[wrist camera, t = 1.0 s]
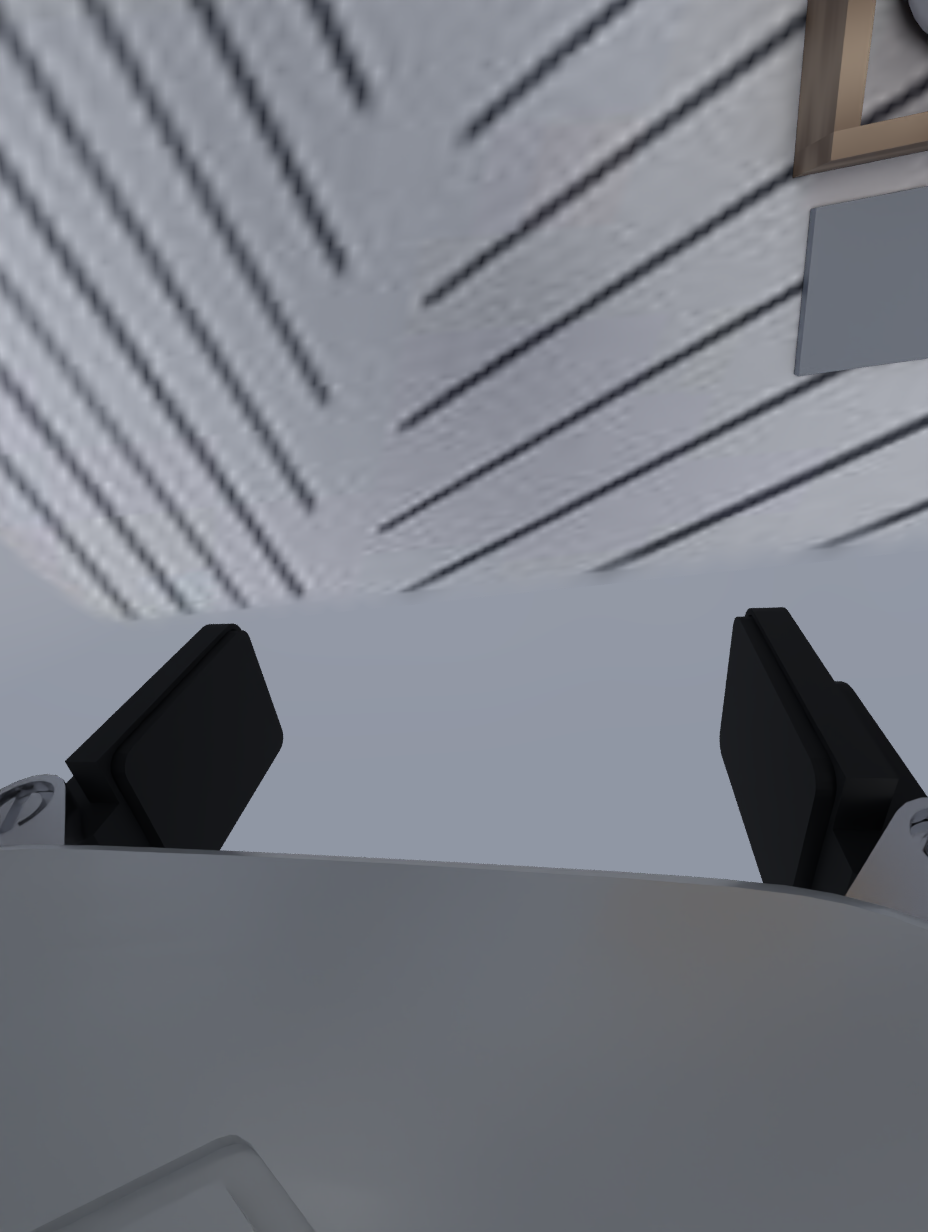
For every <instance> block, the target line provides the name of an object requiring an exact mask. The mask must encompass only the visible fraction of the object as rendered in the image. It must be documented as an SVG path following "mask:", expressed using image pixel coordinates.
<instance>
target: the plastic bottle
mask: <svg viewBox="0 0 928 1232" xmlns="http://www.w3.org/2000/svg"><path fill="white" fill-rule="evenodd" d="M908 2H909V6H910V8H911V11H912V13H913V16H914V18H915V20H916V21H917V23H918V24H919V25H920V27H921V28H922V29H923V31H925V32H926V33H927V34H928V0H908Z"/></svg>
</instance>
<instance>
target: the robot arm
mask: <svg viewBox="0 0 928 1232" xmlns="http://www.w3.org/2000/svg"><path fill="white" fill-rule="evenodd" d="M282 743H283V732H282V728H281V725H280V723H279V720H278V717H277V714H276V711H275V708H274V706H273V703H272V700H271V697H270V694H269V691H268V688H267V686H266V683H265V680H264V677H263V674H262V671H261V669H260V666H259V663H258V660H257V657H256V654H255V651H254V649H253V646H252V643H251V640H250V637H249V635H248V634H247V632H245V631H243V630H241V629H240V627H239V626H238V625H236V624H209V625H206V626H204V627H203V628H202V629H201V630H200V631H199V632H198V633H196V634H195V635H194V636H193V637H192V638H191V639H190V640H189V641H188V642H187V643H186V644H185V645H184V646H183V647H182V648H181V649H180V650H179V651H178V652H177V653H176V654H175V655H174V656H173V657H172V658H171V659H170V660H169V661H168V662H167V663H166V664H165V665H164V666H163V667H162V668H160V669H159V670H158V672H156V673H155V674H154V675H153V676H152V677H151V678H150V679H149V680H148V681H147V682H146V683H145V684H144V685H143V686H142V687H141V688H140V689H139V690H138V691H137V692H136V693H135V694H134V695H133V696H132V697H131V698H130V699H129V700H128V701H127V702H126V703H124V704H123V705H122V706H121V707H120V708H119V709H118V710H117V711H116V712H115V713H114V714H113V715H112V716H111V717H110V718H109V719H108V720H107V721H106V722H105V723H104V724H103V725H102V726H101V727H100V728H99V729H98V730H97V731H96V732H95V733H94V734H93V735H92V736H91V737H90V738H89V739H87V740H86V741H85V742H84V743H83V744H82V745H81V746H80V747H79V748H78V749H77V750H76V751H75V752H74V753H73V754H72V755H71V756H70V757H69V758H68V759H67V760H66V761H65V762H66V764H67V766H68V767H69V769H70V771H71V772H72V774H73V777H72V778H71V779H70V780H69V781H68V782H67V783H65V782H64V780H63V779H62V778H60V777H58V776H57V775H49V774H44V775H36V776H31V777H28V778H25V779H22V780H19V781H17V782H14V783H12V784H10V785H8V786H6V787H4V788H2V789H0V1232H928V797H927V796H926V794H925V793H924V791H923V790H922V788H921V787H920V786H919V784H918V783H917V781H916V780H915V778H914V777H913V776H912V774H911V773H910V771H909V770H908V768H907V767H906V765H905V764H904V762H903V761H902V759H901V758H900V757H899V755H898V754H897V752H896V751H895V749H894V748H893V746H892V745H891V744H890V742H889V741H888V739H887V738H886V737H885V735H884V733H883V732H882V731H881V729H880V728H879V726H878V725H877V723H876V722H875V720H874V719H873V718H872V716H871V715H870V714H869V712H868V710H867V709H866V708H865V706H864V705H863V703H862V702H861V700H860V699H859V697H858V696H857V695H856V693H855V692H854V690H853V689H852V688H851V687H850V686H849V685H848V684H847V683H844V682H842V681H839V682H838V681H837V682H836V681H834V680H833V678H832V677H831V675H830V674H829V672H828V671H827V669H826V668H825V666H824V665H823V663H822V662H821V660H820V659H819V657H818V656H817V654H816V653H815V651H814V650H813V648H812V647H811V645H810V643H809V642H808V640H807V639H806V637H805V636H804V634H803V633H802V632H801V630H800V628H799V627H798V625H797V624H796V622H795V621H794V620H793V618H792V617H791V615H790V613H789V612H788V610H787V609H786V608H783V607H778V608H749V609H748V610H747V612H746V615H745V617H736V618H735V620H734V624H733V632H732V639H731V648H730V656H729V664H728V672H727V680H726V689H725V696H724V705H723V712H722V721H721V729H720V749H721V754H722V758H723V761H724V764H725V767H726V770H727V773H728V776H729V779H730V782H731V785H732V789H733V792H734V795H735V798H736V801H737V804H738V807H739V810H740V813H741V816H742V819H743V823H744V825H745V829H746V832H747V835H748V838H749V841H750V844H751V847H752V850H753V853H754V856H755V860H756V862H757V866H758V868H759V872H760V875H761V878H762V881H763V883H756V882H745V881H737V880H728V879H716V878H715V879H714V878H704V877H691V876H676V875H660V874H645V873H632V872H631V873H630V872H618V871H601V870H583V869H566V868H548V867H529V866H513V865H496V864H479V863H461V862H441V861H423V860H404V859H385V858H366V857H346V856H345V857H344V856H326V855H306V854H286V853H265V852H263V853H262V852H243V851H220V849H221V847H222V846H223V844H224V842H225V841H226V839H227V837H228V836H229V834H230V832H231V831H232V829H233V827H234V825H235V824H236V822H237V821H238V819H239V817H240V816H241V814H242V812H243V811H244V809H245V807H246V806H247V804H248V802H249V801H250V799H251V797H252V796H253V794H254V792H255V791H256V789H257V787H258V786H259V784H260V782H261V781H262V779H263V777H264V776H265V774H266V772H267V771H268V769H269V767H270V766H271V764H272V762H273V761H274V759H275V757H276V756H277V754H278V752H279V751H280V749H281V747H282Z"/></svg>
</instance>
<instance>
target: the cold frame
mask: <svg viewBox="0 0 928 1232" xmlns="http://www.w3.org/2000/svg"><path fill="white" fill-rule="evenodd" d="M875 6H876V0H808V7H807V18H806V30H805V41H804V53H803V64H802V76H801V87H800V99H799V110H798V122H797V133H796V145H795V157H794V168H793V178H795V177H800V176H805V175H810V174H815V173H820V172H825V171H830V170H835V169H839V168H844V167H849V166H854V165H859V164H864V163H869V162H874V161H879V160H883V159H888V158H893V157H898V156H903V155H908V154H913V153H918V152H923V151H927V150H928V111H927V112H923V113H918V114H913V115H909V116H904V117H900V118H895V119H890V120H886V121H881V122H876V123H872V124H867V125H863V126H860V124H861V116H862V108H863V100H864V92H865V84H866V76H867V69H868V61H869V53H870V45H871V37H872V29H873V21H874V13H875Z"/></svg>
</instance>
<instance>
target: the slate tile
mask: <svg viewBox="0 0 928 1232" xmlns="http://www.w3.org/2000/svg"><path fill="white" fill-rule="evenodd" d="M926 358H928V186H926V187H921V188H915V189H910V190H905V191H900V192H895V193H889V194H884V195H879V196H874V197H869V198H864V199H858V200H853V201H848V202H843V203H838V204H833V205H827V206H822V207H817V208H813V209H811V212H810V222H809V232H808V242H807V252H806V262H805V272H804V282H803V291H802V301H801V311H800V321H799V331H798V341H797V351H796V361H795V371H794V374H795V375H797V376H804V375H811V374H818V373H825V372H832V371H840V370H847V369H854V368H861V367H868V366H876V365H883V364H890V363H897V362H905V361H912V360H919V359H926Z"/></svg>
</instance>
